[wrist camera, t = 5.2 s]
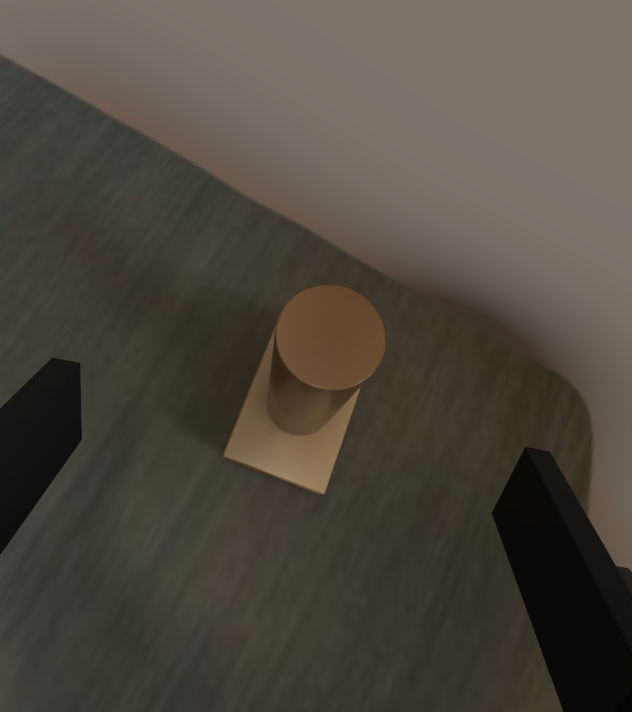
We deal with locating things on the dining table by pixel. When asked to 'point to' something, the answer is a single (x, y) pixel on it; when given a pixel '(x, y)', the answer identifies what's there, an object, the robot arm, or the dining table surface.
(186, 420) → the dining table surface
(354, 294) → the cylinder on block base
